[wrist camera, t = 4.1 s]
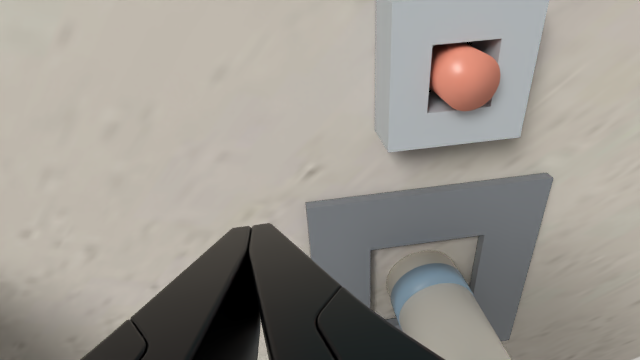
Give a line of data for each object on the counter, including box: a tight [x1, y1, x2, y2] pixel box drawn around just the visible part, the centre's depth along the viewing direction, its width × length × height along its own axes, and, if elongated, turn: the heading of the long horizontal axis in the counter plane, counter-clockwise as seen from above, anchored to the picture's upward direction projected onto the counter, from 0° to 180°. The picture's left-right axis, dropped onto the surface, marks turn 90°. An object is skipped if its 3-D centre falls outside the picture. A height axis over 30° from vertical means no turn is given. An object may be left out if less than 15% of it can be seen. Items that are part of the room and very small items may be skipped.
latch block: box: [375, 0, 549, 152], centre depth 18 cm, size 6×6×2 cm
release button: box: [429, 42, 500, 111], centre depth 17 cm, size 2×2×2 cm
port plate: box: [306, 173, 553, 341], centre depth 26 cm, size 14×14×1 cm
